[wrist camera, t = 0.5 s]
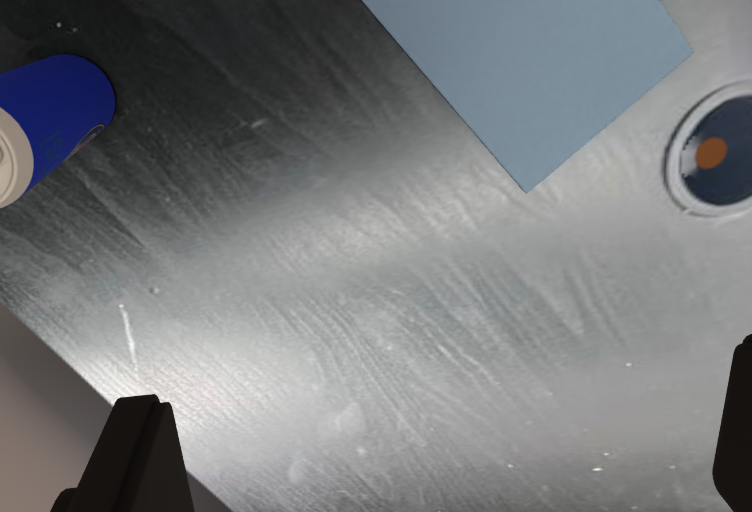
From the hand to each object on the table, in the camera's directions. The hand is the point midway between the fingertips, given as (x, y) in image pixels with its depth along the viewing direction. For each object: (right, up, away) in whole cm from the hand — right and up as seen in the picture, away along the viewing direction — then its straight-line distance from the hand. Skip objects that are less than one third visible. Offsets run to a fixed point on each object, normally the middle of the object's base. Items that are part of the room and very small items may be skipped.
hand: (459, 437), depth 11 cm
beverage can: (-20, +13, +31) cm, 39 cm away
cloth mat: (+8, +19, +31) cm, 37 cm away
